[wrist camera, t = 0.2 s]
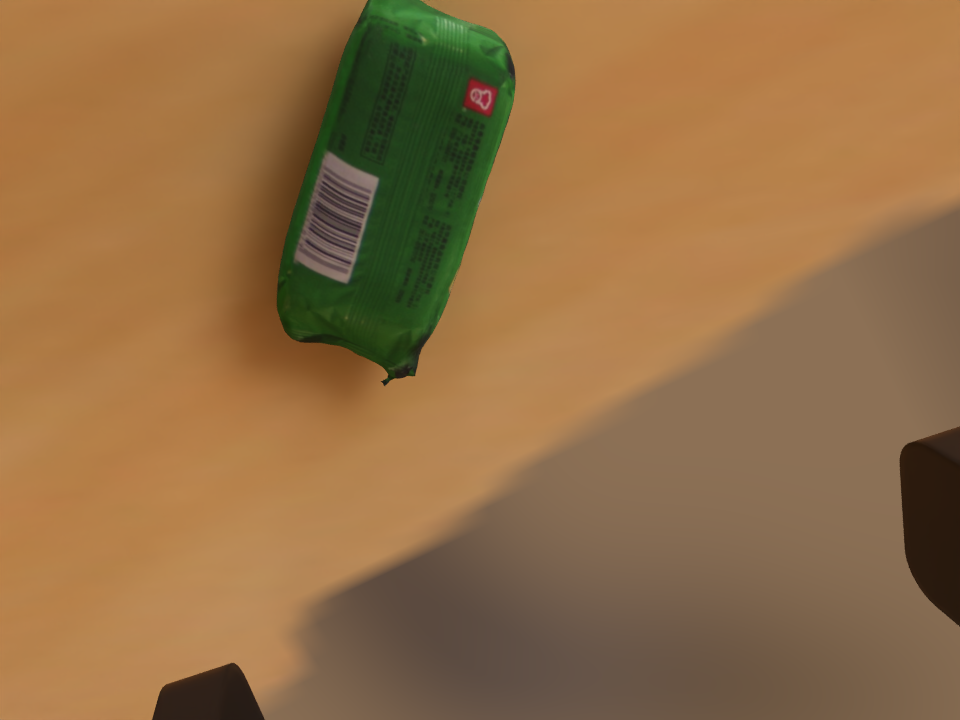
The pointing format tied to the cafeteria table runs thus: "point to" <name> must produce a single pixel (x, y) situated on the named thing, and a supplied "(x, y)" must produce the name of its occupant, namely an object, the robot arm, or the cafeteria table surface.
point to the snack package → (394, 182)
